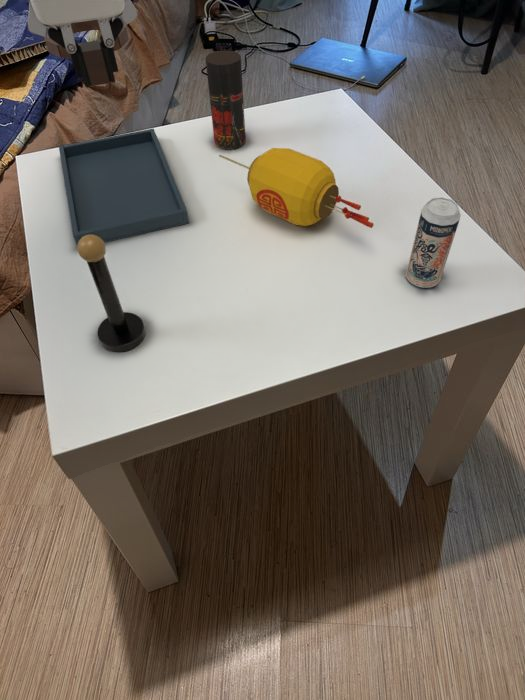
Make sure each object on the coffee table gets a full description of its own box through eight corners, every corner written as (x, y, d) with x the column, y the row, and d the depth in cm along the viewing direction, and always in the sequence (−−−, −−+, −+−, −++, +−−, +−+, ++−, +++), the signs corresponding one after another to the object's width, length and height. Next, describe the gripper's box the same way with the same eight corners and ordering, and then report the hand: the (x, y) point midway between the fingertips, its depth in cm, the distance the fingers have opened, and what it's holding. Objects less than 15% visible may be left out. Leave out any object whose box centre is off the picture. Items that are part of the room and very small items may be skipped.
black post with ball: (102, 357, 66) (61, 261, 54) (96, 324, 70) (57, 227, 58) (149, 345, 68) (119, 248, 55) (141, 313, 71) (111, 215, 59)
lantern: (395, 172, 72) (230, 111, 84) (356, 221, 69) (191, 150, 81) (392, 222, 80) (243, 160, 93) (357, 267, 78) (208, 197, 90)
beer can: (400, 283, 73) (417, 212, 64) (411, 263, 76) (429, 191, 67) (434, 294, 72) (457, 222, 63) (443, 273, 75) (467, 201, 65)
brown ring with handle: (45, 34, 77) (35, 3, 74) (121, 22, 79) (114, -8, 76) (55, 92, 65) (44, 58, 62) (144, 77, 67) (138, 43, 64)
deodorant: (211, 137, 101) (201, 53, 89) (240, 131, 102) (235, 48, 90) (218, 152, 97) (210, 67, 85) (249, 146, 98) (245, 61, 86)
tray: (77, 248, 80) (73, 235, 79) (62, 158, 97) (58, 146, 95) (189, 223, 84) (187, 210, 82) (155, 140, 100) (153, 128, 99)
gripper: (124, -124, 56) (156, 59, 70) (-34, -109, 53) (33, 79, 67) (135, -111, 51) (167, 82, 66) (-37, -93, 49) (36, 104, 63)
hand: (99, 79), depth 66 cm, fingers closed on brown ring with handle, 2 cm apart
